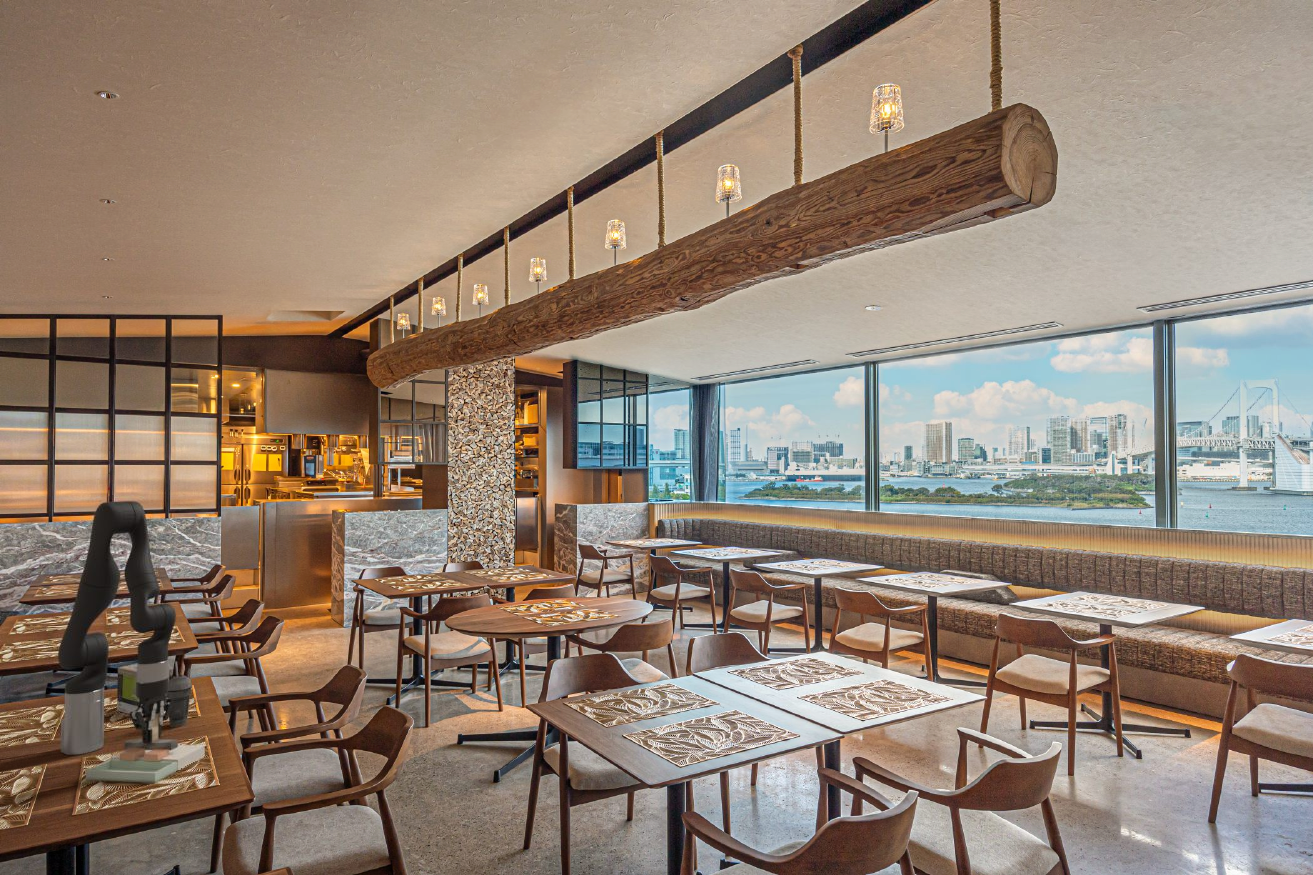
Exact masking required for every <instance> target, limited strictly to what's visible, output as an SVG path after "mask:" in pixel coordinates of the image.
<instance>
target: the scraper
mask: <svg viewBox="0 0 1313 875" xmlns="http://www.w3.org/2000/svg"><path fill="white" fill-rule="evenodd" d="M158 714H159V713H158ZM158 714H155V719H154V720H153V723H152V742H151V743H149V744H146V743H143V741H142V738H140V739H139V738H138V739H135V738H133V739H132V738H131V739H129V740H127V741H125V742H123V743H124V744H123V746H124V747H123V748H124V751H126V750H128V749H130V748H145V750H154V749H156V748H158V749H169V750H173V749H175V748H177V747H178V745H179V740H178V739H161V738H160V739H159V733H158V726H159V719H158ZM145 717H148V716H145ZM146 725H148V721H146Z"/></svg>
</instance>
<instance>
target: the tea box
mask: <svg viewBox="0 0 1313 875" xmlns="http://www.w3.org/2000/svg"><path fill="white" fill-rule="evenodd" d="M137 664H138V663H135V664H130V665H129V664H128V665H125V666H120V667H118V668H117V688H116V691H117V692H116V693H117V696H116V697H117V698H116V710H117V711H118V712H122V713H125V714H130V712H134V711H135V710H136V709H137V708H138V703H139V699H138V698H137V697H136V671H137ZM166 697H167V695H166Z"/></svg>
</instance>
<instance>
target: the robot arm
mask: <svg viewBox="0 0 1313 875" xmlns="http://www.w3.org/2000/svg"><path fill="white" fill-rule="evenodd" d="M91 526H92V527H91V532H90V539H89V545H88V546H89V547H88V551H87V555H86V559H85V563H84V566H83V571H82V574H81V577H80V580H79V584H78V588H77V592H76V596H75V601H74V605H73V608H72V612H71V614H70V617H69V620H68V623H67V626H66V628H65V631H64V633H63V635H62V638H61V641H60V643H59V648H58V652H57V654H58V655H57V659H58V661H57V662H58V664H59V666H60V667H61V668H62V669H63V670H67V671H68V670H75V669H81V668H82V670H81V672H80V673H78V674H77V675H76V676H74V677H72V678H71V679H69V680H68V681H66V683H65V685H64V717H63V718H62V719H61V721H60V722H61V723H60V724H61V725H60V753H63V754H65V755H68V756H69V755H71V756H72V755H74V756H75V755H83V754H87V753H92V752H94V751H97V750H99V749H101V748H103V747H104V740H105V738H104V735H105V733H104V732H105V682H106V679H107V674H108V663H109V662H108V661H109V640H108V638H107V636H106V635H105V634H104V633H102V632H91V633H90V632H89V630H90V628H91V627H92V625H93V624H94V622H95V621H96V620H97V619H99V617H100V616H101V615H102V614H103V613H104V612H105V610H106V609H107V608H108V607H110V605H111V604H112V602H114V600H115V598H116V596H117V593H118V589H119V586H120V583H121V582H120V581H121V571H120V568H119V566H118V565H117V562H116V561H115V559H114V557H113V554H112V552H111V543H112V539H113V537H114V535H119V534H128V535H129V537H130V541H131V548H130V552H129V555H128V558H127V561H126V564H125V567H124V580H125V583H126V586H127V590H128V592H129V598H130V600H129V601H130V605H129V606H130V610H129V611H130V612H129V613H130V615H129V624H130V626H131V628H132V630H134V632H137V633H138V634H143V633H144V634H146V633H150V632H153V634H152V635H151V636H150V637H149V638H146V639H144V640H143V641H140V642H139V644H138V646H137V663H136V664H137V671H136V697H137V698H138V699H139V703H138V708H137V709H136V710H135V711H134V712H130V714H129V715H128V716H129V718H130V720H131V722H132V724H133V726H134V728H135V730H138V731H139V730H141V732H142V735H141V736H142V738H141V739H142V741H143V743H146V744H149V743H151V742H152V723H153V720H154V719H155V714H158V713H159V714H158V719H159V726H158V733H159V739H161V738H162V725H163V724H164V722H165V721H167V720H169V713H170V710H171V707H172V704H173V701H174V699H173V698H167V697H166V694H167V693H168V691H169V680H170V665H169V643H170V639H171V637H172V633H173V630H174V628H175V627H174V626H175V623H176V619H177V614H176V611H175V610H176V609H175V608H174V607H173V605H171V604H170V603H167V602H166V603H158V604H154V605H148V601H149V600H152V599H154V598H156V597H158V596H159V594H161V593H160V592H161V588H160V584H159V582H158V579H157V575H156V573H155V569H154V565H153V561H152V556H151V548H150V539H149V530H148V522H147V515H146V513H145V509H144V507H143V505H142V504H141V503H139V502H138V501H135V500H134V501H133V500H132V501H131V500H130V501H129V500H128V501H127V500H125V501H106V502H103V503H100V504H99V505H98V506H97V508H96V509H95V512H94V515H93V520H92V525H91ZM88 632H89V633H88ZM145 716H148V717H145ZM146 721H148V725H146Z"/></svg>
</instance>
